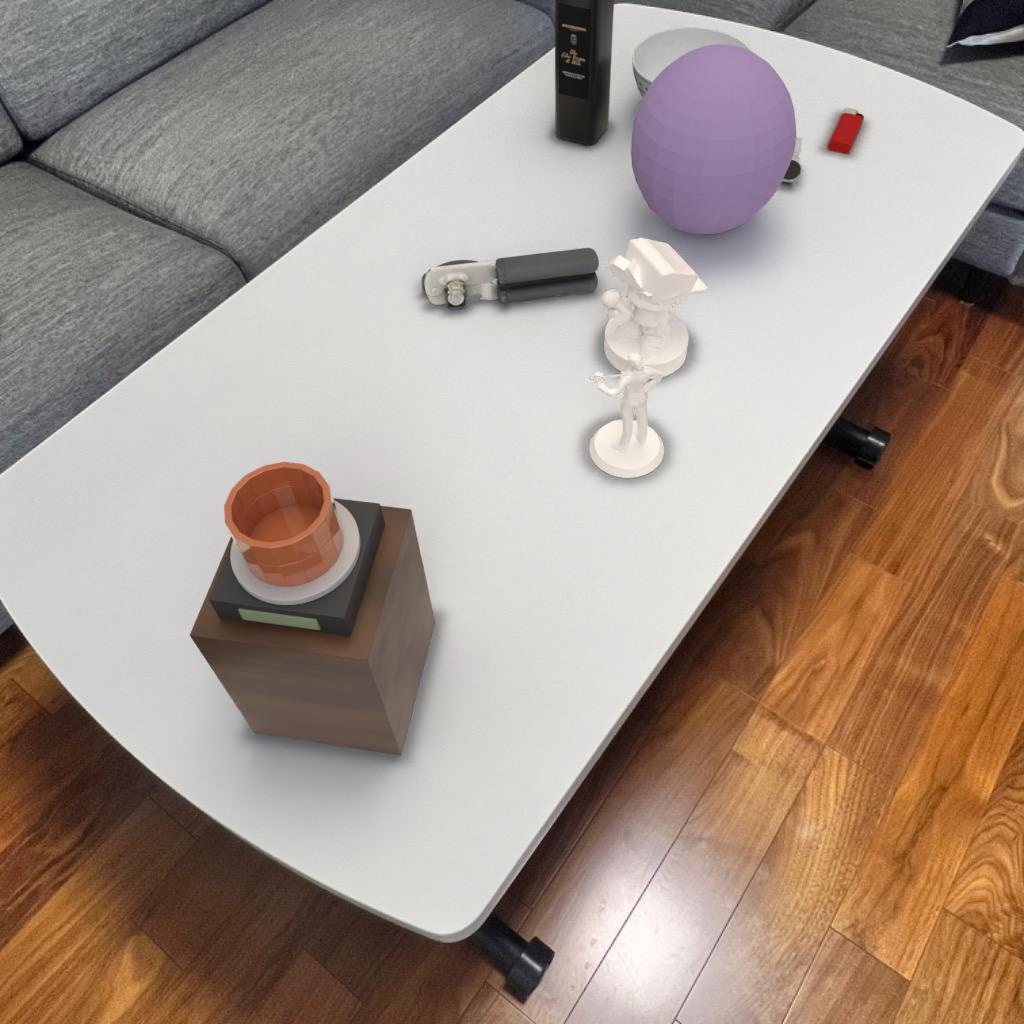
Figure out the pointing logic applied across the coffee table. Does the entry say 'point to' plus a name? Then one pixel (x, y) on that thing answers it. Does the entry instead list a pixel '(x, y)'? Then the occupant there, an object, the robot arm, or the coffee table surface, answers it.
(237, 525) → the bowl
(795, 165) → the wristwatch
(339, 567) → the scale
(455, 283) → the can opener
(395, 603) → the wooden block
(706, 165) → the purple ovoid
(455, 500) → the coffee table surface
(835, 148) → the lighter
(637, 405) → the figurine
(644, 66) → the chinaware
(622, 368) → the character figurine
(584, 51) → the black tall square bottle
